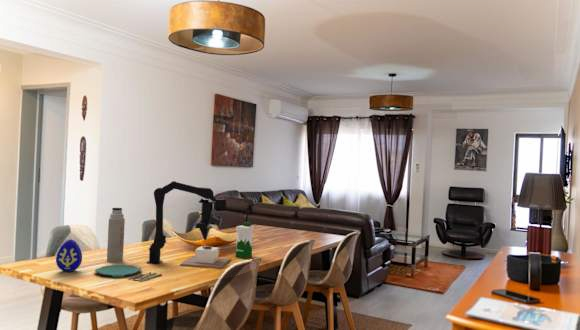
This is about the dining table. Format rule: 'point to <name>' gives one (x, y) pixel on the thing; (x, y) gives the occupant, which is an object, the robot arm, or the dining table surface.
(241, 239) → the milk carton
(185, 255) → the dining table surface
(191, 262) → the board
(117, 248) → the thermos bottle
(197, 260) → the white block with hole
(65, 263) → the ornament
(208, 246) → the plunger
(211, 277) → the dining table surface
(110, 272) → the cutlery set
